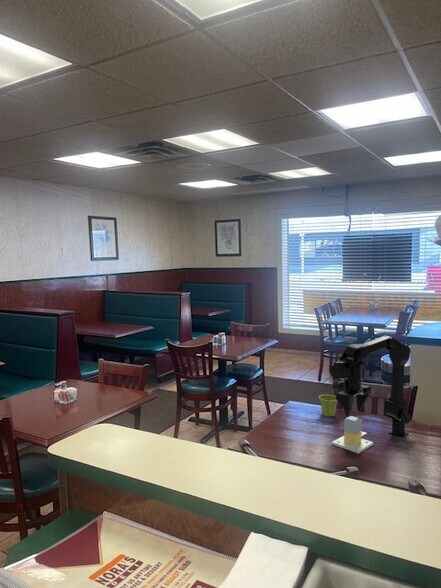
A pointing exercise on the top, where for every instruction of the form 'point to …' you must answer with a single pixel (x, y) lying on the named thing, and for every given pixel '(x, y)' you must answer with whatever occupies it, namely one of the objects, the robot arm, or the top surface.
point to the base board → (356, 448)
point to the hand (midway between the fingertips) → (353, 413)
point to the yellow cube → (352, 437)
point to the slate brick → (352, 424)
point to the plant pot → (328, 405)
